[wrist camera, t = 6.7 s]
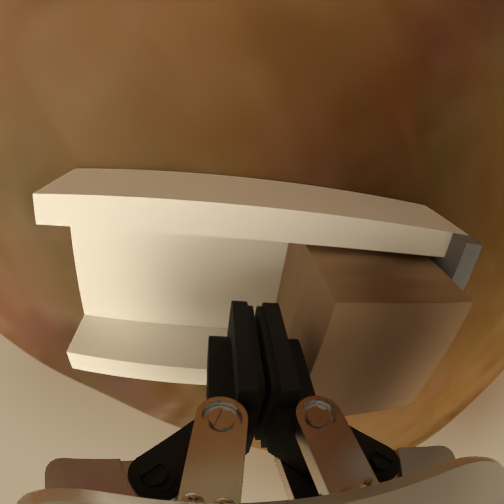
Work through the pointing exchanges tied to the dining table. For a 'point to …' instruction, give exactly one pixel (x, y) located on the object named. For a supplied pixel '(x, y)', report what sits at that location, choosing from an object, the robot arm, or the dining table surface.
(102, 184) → the chute
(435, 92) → the dining table surface
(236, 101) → the dining table surface
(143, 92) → the dining table surface
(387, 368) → the walnut block
